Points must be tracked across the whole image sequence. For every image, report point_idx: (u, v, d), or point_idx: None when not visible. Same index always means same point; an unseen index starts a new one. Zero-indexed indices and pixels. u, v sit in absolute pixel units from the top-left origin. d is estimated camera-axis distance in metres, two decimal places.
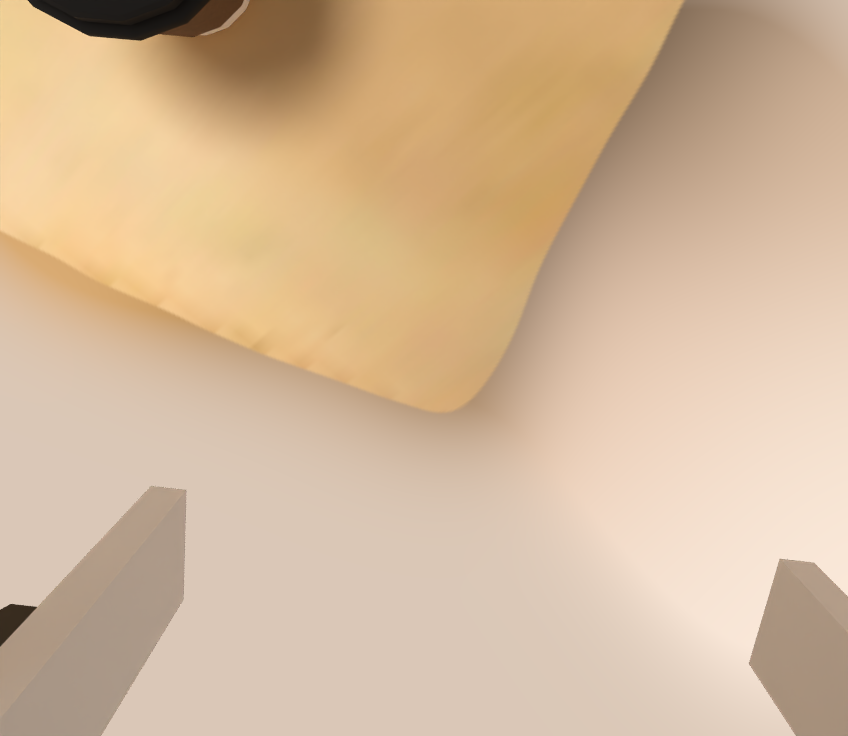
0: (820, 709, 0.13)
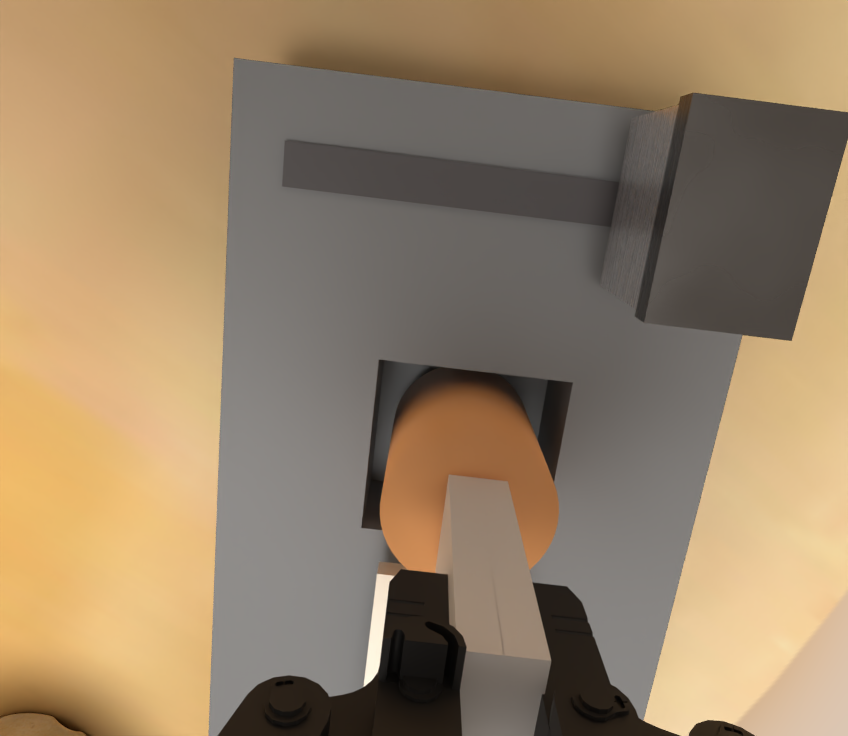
0: None
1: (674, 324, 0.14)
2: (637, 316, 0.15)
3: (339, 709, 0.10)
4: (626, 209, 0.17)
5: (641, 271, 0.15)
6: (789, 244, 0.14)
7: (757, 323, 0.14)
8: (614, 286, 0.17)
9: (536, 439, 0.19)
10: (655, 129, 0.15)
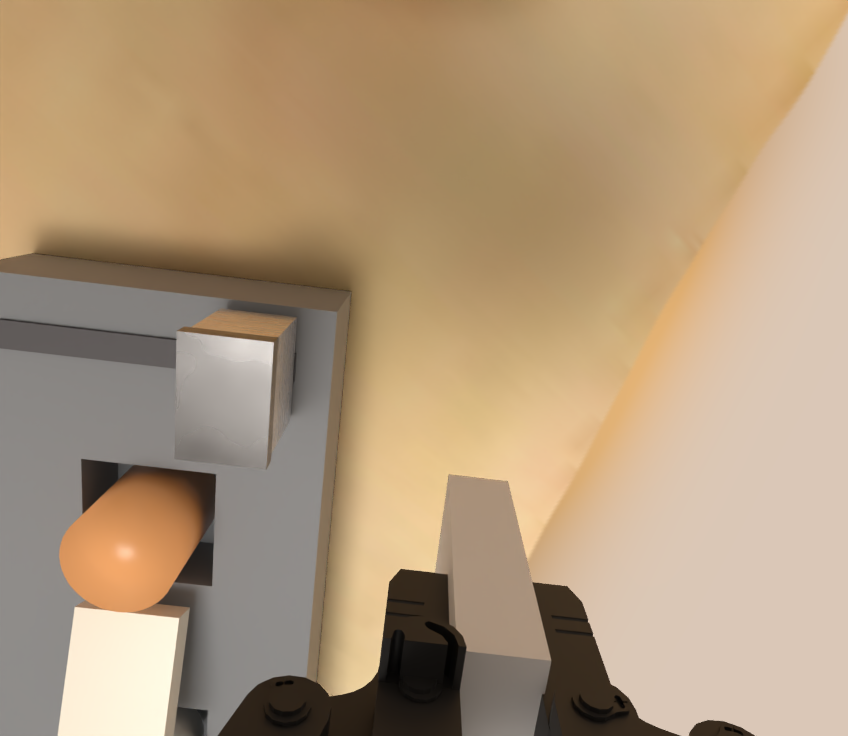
0: None
1: (193, 460, 0.23)
2: None
3: (339, 709, 0.10)
4: None
5: None
6: (252, 414, 0.23)
7: (243, 459, 0.23)
8: None
9: (186, 509, 0.29)
10: None
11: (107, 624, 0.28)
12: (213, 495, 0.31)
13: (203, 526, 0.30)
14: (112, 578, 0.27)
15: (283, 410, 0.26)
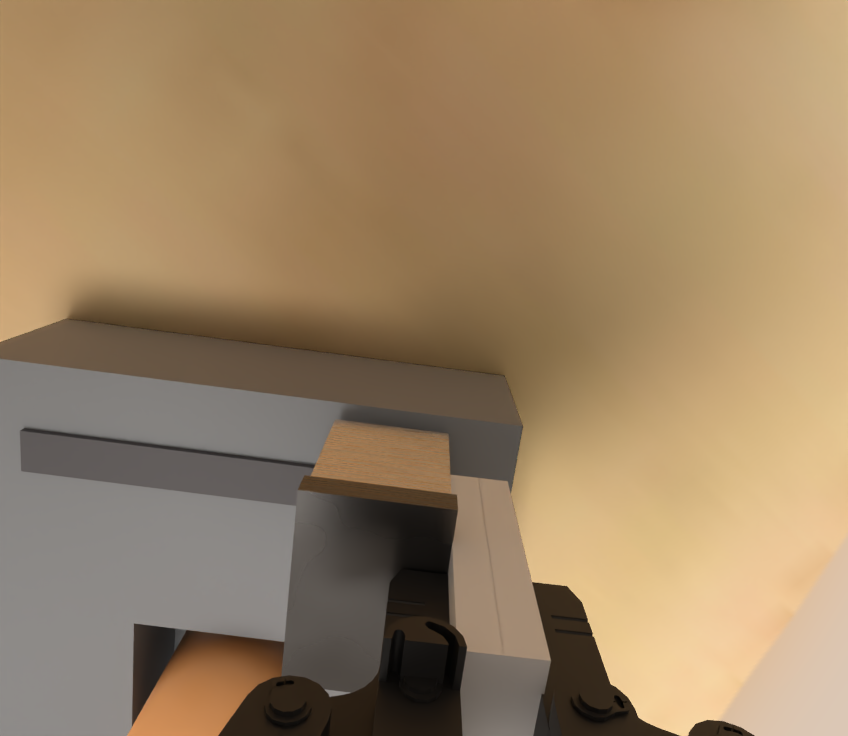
0: None
1: None
2: None
3: (340, 709, 0.10)
4: None
5: None
6: None
7: None
8: None
9: None
10: None
11: None
12: None
13: None
14: None
15: None
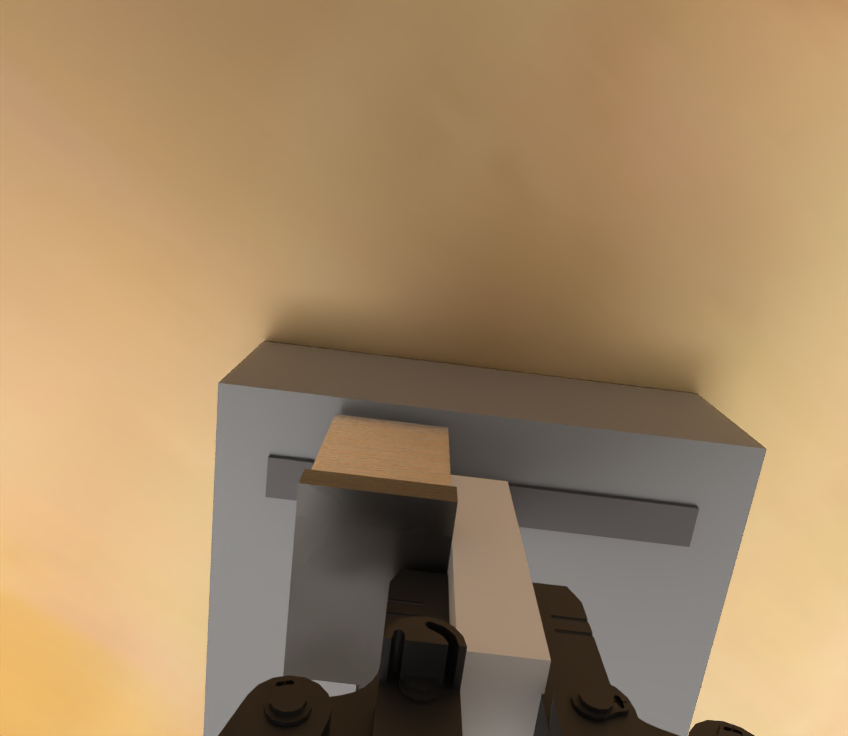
0: None
1: (313, 677, 0.15)
2: None
3: (339, 709, 0.10)
4: None
5: None
6: None
7: None
8: None
9: None
10: None
11: None
12: None
13: None
14: None
15: None
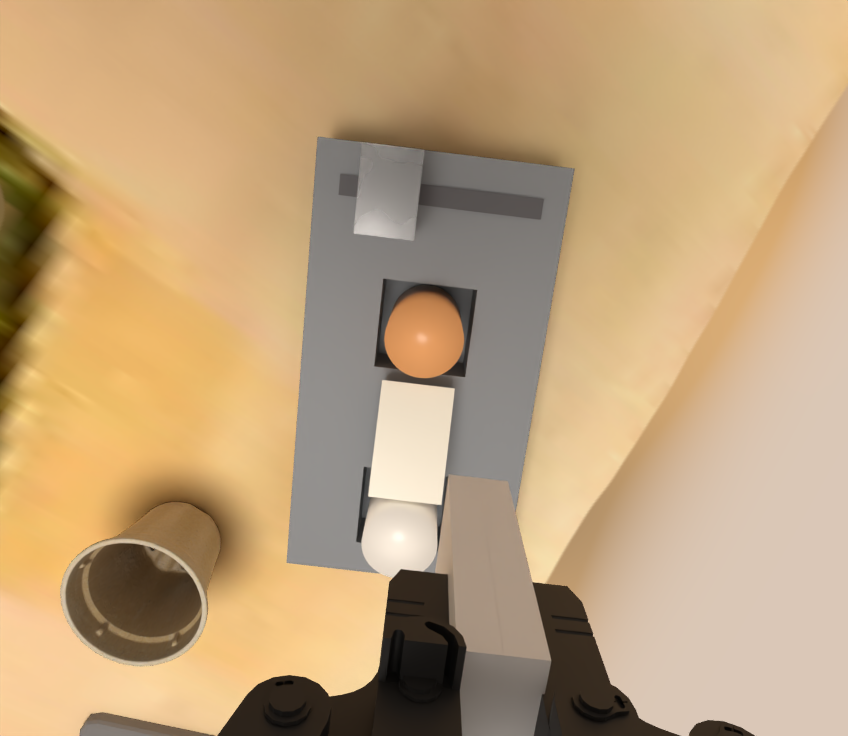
0: None
1: (366, 234, 0.35)
2: None
3: (339, 709, 0.10)
4: None
5: None
6: (407, 200, 0.35)
7: (399, 233, 0.35)
8: None
9: (458, 313, 0.41)
10: None
11: (405, 392, 0.40)
12: None
13: None
14: (419, 351, 0.39)
15: None
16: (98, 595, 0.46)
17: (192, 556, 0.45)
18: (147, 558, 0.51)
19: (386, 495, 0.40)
